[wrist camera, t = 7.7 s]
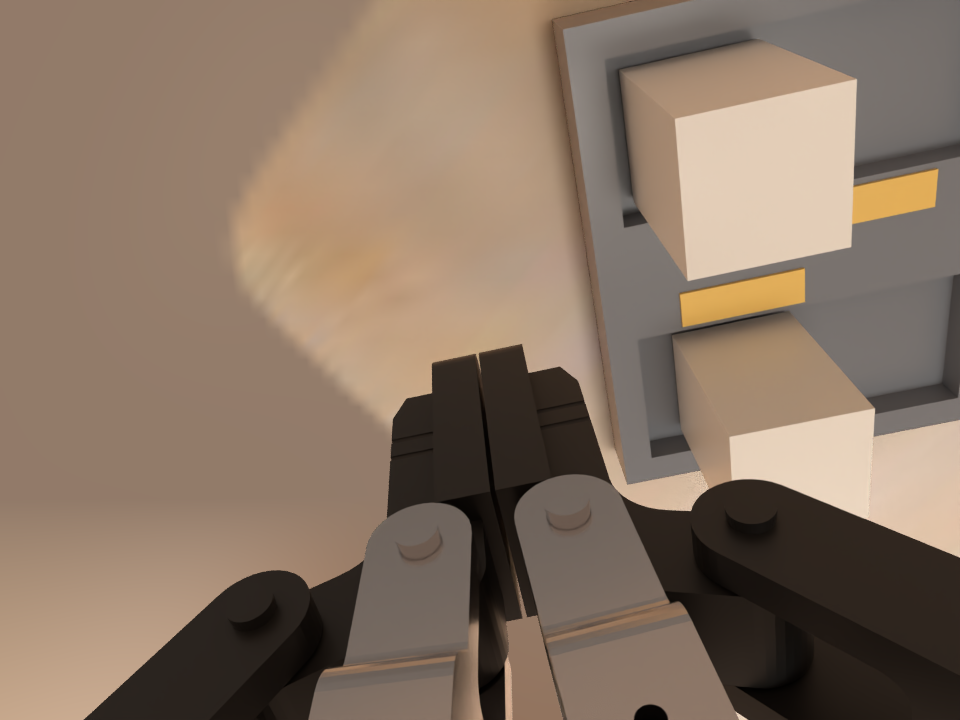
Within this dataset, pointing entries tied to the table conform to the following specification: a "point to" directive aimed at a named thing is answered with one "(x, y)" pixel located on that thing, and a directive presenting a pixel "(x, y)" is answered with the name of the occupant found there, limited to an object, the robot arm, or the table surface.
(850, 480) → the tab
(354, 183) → the table surface
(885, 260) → the switch board
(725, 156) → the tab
